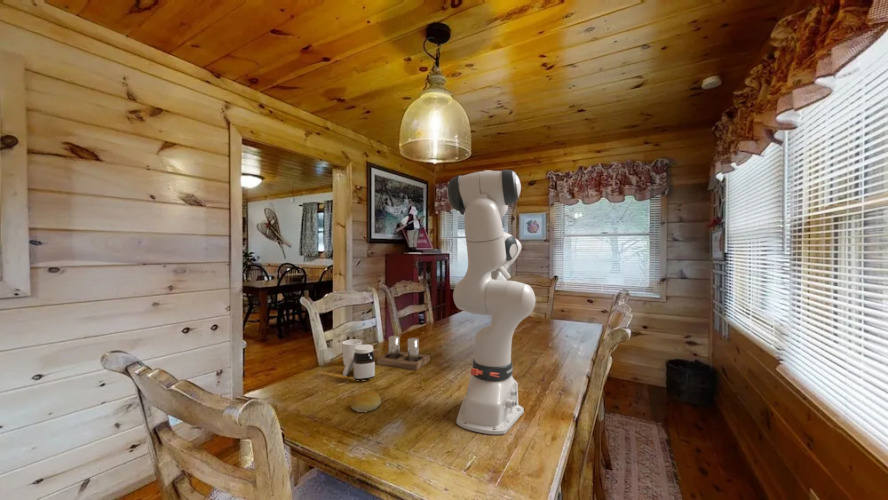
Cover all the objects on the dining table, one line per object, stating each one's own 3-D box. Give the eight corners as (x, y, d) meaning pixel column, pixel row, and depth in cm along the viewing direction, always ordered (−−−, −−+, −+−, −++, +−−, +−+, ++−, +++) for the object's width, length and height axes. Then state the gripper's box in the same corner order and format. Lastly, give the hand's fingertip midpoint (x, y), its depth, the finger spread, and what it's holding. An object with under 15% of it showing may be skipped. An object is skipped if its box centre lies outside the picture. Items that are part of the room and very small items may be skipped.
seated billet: (396, 363, 138) (396, 339, 138) (386, 361, 140) (386, 337, 140) (401, 359, 142) (401, 336, 142) (392, 358, 144) (392, 335, 144)
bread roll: (345, 411, 101) (345, 398, 101) (363, 398, 109) (363, 386, 109) (369, 416, 98) (369, 402, 98) (385, 403, 106) (385, 390, 106)
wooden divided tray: (416, 373, 130) (416, 364, 130) (376, 367, 137) (376, 358, 137) (429, 363, 141) (429, 355, 141) (392, 357, 148) (392, 350, 148)
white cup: (342, 364, 141) (341, 340, 141) (361, 362, 143) (361, 338, 143) (342, 370, 133) (342, 345, 133) (362, 368, 136) (362, 343, 136)
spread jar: (376, 381, 123) (376, 349, 123) (344, 386, 119) (344, 353, 118) (371, 370, 134) (371, 341, 134) (341, 374, 130) (341, 344, 130)
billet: (415, 366, 135) (415, 341, 134) (405, 364, 136) (405, 340, 136) (420, 362, 139) (420, 338, 139) (411, 361, 140) (410, 337, 140)
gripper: (475, 263, 149) (456, 287, 144) (504, 266, 130) (483, 293, 126) (484, 273, 151) (465, 296, 146) (513, 277, 133) (492, 304, 128)
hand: (473, 295), depth 136 cm, fingers open, 8 cm apart
